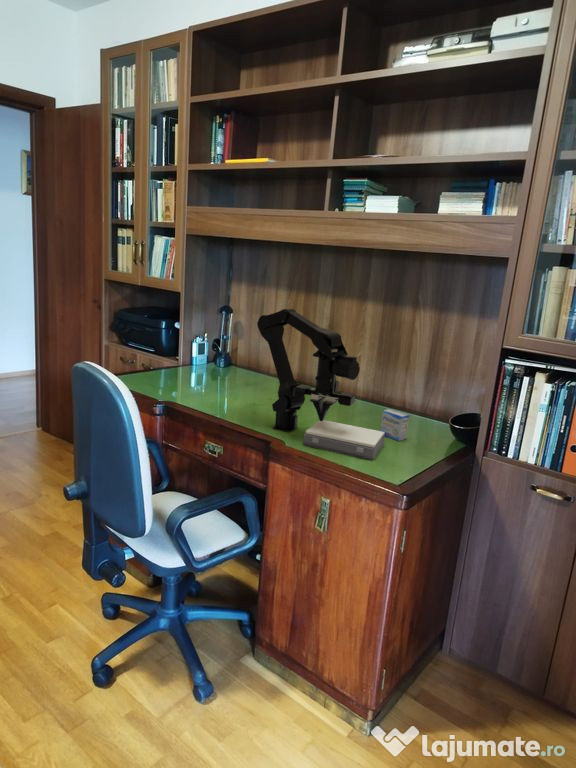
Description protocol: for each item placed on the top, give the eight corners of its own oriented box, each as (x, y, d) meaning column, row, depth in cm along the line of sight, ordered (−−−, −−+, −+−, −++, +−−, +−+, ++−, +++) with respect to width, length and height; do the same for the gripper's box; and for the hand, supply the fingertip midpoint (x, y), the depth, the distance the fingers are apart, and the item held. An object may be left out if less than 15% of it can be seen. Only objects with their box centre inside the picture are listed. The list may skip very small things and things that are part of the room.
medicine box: (379, 434, 179) (382, 410, 176) (386, 432, 182) (390, 408, 180) (398, 441, 173) (402, 416, 171) (406, 439, 176) (409, 414, 174)
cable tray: (302, 446, 162) (303, 435, 161) (318, 431, 176) (319, 421, 176) (372, 461, 155) (373, 450, 154) (383, 445, 169) (384, 434, 168)
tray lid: (305, 433, 163) (306, 430, 163) (320, 421, 175) (320, 419, 175) (374, 447, 155) (374, 445, 155) (384, 434, 168) (384, 432, 168)
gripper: (362, 372, 167) (356, 419, 170) (307, 364, 173) (303, 409, 177) (352, 379, 157) (347, 429, 160) (294, 370, 163) (290, 418, 167)
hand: (321, 420), depth 166 cm, fingers closed
